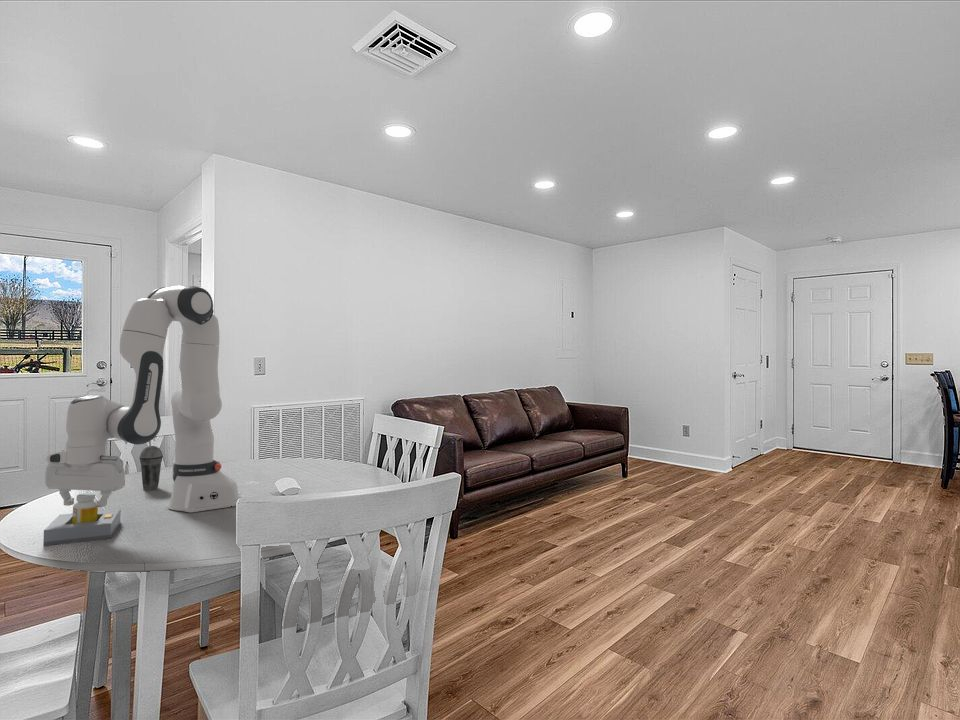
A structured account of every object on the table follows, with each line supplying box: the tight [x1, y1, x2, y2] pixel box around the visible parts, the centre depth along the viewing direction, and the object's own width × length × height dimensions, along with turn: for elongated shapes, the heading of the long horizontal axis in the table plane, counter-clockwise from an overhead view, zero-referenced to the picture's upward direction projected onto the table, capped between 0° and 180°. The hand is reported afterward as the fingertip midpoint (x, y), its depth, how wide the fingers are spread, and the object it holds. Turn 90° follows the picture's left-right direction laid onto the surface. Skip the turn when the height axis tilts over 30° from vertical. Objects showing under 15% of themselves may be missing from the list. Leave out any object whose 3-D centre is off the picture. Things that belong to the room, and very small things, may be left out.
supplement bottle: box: [72, 492, 99, 524], centre depth 138 cm, size 5×5×10 cm
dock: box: [43, 508, 122, 547], centre depth 138 cm, size 14×14×4 cm
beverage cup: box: [139, 440, 164, 491], centre depth 184 cm, size 7×7×20 cm
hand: (85, 505), depth 138 cm, fingers open, 8 cm apart
